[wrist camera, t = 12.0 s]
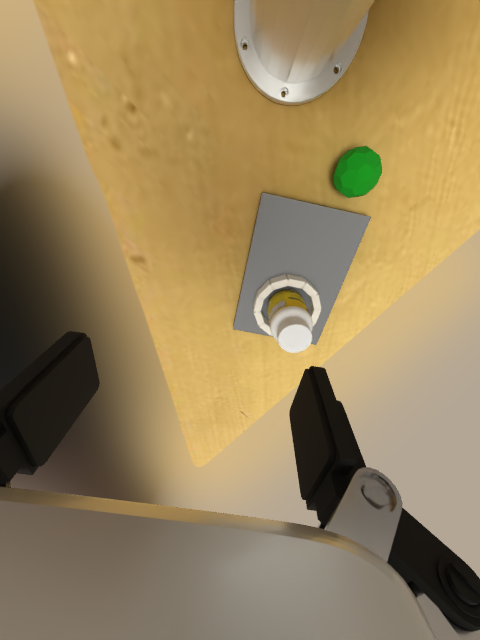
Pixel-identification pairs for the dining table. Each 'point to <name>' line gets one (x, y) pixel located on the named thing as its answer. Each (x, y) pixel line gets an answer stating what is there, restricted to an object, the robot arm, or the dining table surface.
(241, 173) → the dining table surface
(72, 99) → the dining table surface
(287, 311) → the supplement bottle
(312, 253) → the pin board
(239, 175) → the dining table surface
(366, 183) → the polyhedron
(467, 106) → the dining table surface
